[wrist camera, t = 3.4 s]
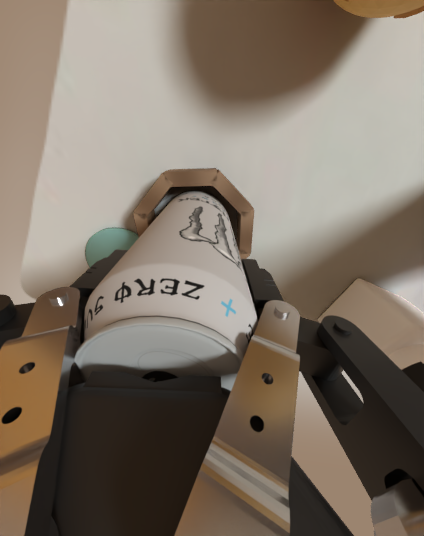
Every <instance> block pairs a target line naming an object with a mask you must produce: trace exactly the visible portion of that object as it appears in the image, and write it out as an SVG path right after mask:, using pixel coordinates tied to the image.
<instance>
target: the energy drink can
mask: <svg viewBox="0 0 424 536" xmlns="http://www.w3.org/2000/svg"><path fill="white" fill-rule="evenodd" d="M257 325H258V320H257V315H256V311H255V308H254V304H253V301H252V297H251V294H250V290H249V286H248V283H247V279H246V276H245V272H244V269H243V265H242V262H241V258H240V255H239V251H238V248H237V244H236V240H235V237H234V233H233V230H232V226H231V223H230V219H229V216H228V213H227V211H226V209H225V207H224V206H223V204H222V203H221V202H220V201H219V200H218V199H217V198H215V197H214V196H212V195H211V194H208V193H206V192H201V191H188V192H184V193H182V194H180V195H178V196H176V197H175V198H174V199H173V200H171V202H170V203H169V204H168V205H167V206H166V207H165V208H164V210H163V211H162V212H161V213H160V214H159V215H158V217H157V218H156V219H155V220H154V221H153V222H152V223H151V225H150V226H149V227H148V228H147V229H146V230H145V231H144V233H143V234H142V235H141V236H140V237H139V238H138V240H137V241H136V242H135V243H134V244H133V245H132V246H131V248H130V249H129V250H128V251H127V252H126V253H125V255H124V256H123V257H122V258H121V259H120V260H119V261H118V263H117V264H116V265H115V266H114V267H113V268H112V270H111V271H110V272H109V273H108V274H107V275H106V276H105V278H104V279H103V280H102V281H101V282H100V283H99V285H98V286H97V287H96V288H95V290H94V291H93V292H92V294H91V295H90V297H89V299H88V302H87V305H86V307H85V315H84V342H83V343H82V345H81V346H80V347H79V348H78V350H77V352H76V355H75V357H74V360H75V362H76V363H77V364H78V365H79V367H80V368H81V370H82V373H83V375H84V377H85V380H86V381H87V379H88V377H89V375H90V374H91V372H92V371H107V372H125V373H128V374H131V375H134V376H137V377H140V378H143V379H146V380H149V381H152V382H160V381H165V380H170V379H174V378H179V377H184V376H189V375H196V376H218V377H221V387H223V388H226V389H228V390H230V391H231V390H232V387H233V385H234V382H235V379H236V377H237V374H238V372H239V369H240V366H241V364H242V361H243V358H244V356H245V353H246V351H247V348H248V345H249V343H250V340H251V338H252V335H254V333H255V330H256V327H257Z"/></svg>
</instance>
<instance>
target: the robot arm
mask: <svg viewBox="0 0 424 536" xmlns="http://www.w3.org/2000/svg"><path fill="white" fill-rule="evenodd" d="M127 251H128V250H119V249H116V250H114V251H113V252H112V253H111V254H110V255H109V256H108V257H107V258H106V257H105V258H103V259H101V260H99V261H97V262H96V263H94V264H93V265H92V266H91V267H90V268H89V269H88V270H87V271H86V273H84V274H83V275H82V276H81V277H80V278H78V279H77V280H76V281H75V282H74V283H73V284H72V285H71V286H70V287H62V288H57V289H54V290H51V291H48V292H46V293H44V294H43V295H41V296H40V297H39V298H38V299H37V300H36V302H35V303H28V304H21V305H14V304H13V302H12V300H11V299H10V297H9V296H7V295H0V536H354V535H353V534H352V533H351V531H350V530H349V529H348V528H347V526H346V525H345V524H344V522H343V521H342V520H341V519H340V517H339V516H338V515H337V513H336V512H335V511H334V510H333V508H332V507H331V506H330V505H329V503H328V502H327V501H326V499H325V498H324V497H323V496H322V494H321V493H320V492H319V491H318V489H317V488H316V487H315V485H314V484H313V483H312V482H311V480H310V479H309V478H308V477H307V475H306V474H305V473H304V471H303V470H302V469H301V468H300V467H299V465H298V464H297V462H296V461H295V460H294V459H293V458H292V456H291V454H292V443H293V432H294V421H295V409H296V398H297V387H298V376H299V371H301V373H302V375H303V376H304V378H305V380H306V382H307V384H308V385H309V387H310V389H311V391H312V393H313V395H314V397H315V398H316V400H317V402H318V404H319V406H320V407H321V409H322V411H323V413H324V415H325V417H326V418H327V420H328V422H329V424H330V426H331V427H332V429H333V431H334V433H335V435H336V436H337V438H338V440H339V442H340V444H341V446H342V447H343V449H344V451H345V453H346V455H347V457H348V458H349V460H350V462H351V464H352V466H353V467H354V469H355V471H356V473H357V475H358V477H359V478H360V480H361V482H362V484H363V486H364V487H365V489H366V491H367V493H368V495H369V496H370V498H371V500H372V503H371V518H372V522H373V526H374V536H424V392H423V391H422V390H421V389H420V388H419V387H418V386H417V385H416V384H415V383H414V382H413V381H412V380H411V379H410V378H409V377H408V376H407V375H406V374H405V373H404V372H403V371H402V370H401V369H400V368H399V367H398V366H397V365H396V364H395V363H394V362H393V361H392V360H391V359H390V358H389V357H388V356H387V355H386V354H385V353H384V352H383V351H382V350H381V349H379V348H378V347H377V346H376V345H375V344H374V343H373V342H372V341H371V340H370V339H369V338H368V337H367V336H366V335H365V334H364V333H363V332H362V331H361V330H360V329H359V328H358V327H357V326H356V325H355V324H353V323H352V322H350V321H348V320H347V319H344V318H342V317H339V316H334V315H329V316H325V317H324V318H323V319H322V321H321V323H318V322H315V321H312V320H308V319H305V318H302V317H300V314H299V312H298V311H297V309H296V308H295V307H293V306H292V305H290V304H289V303H286V302H284V300H283V298H282V296H281V294H280V292H279V290H278V288H277V286H276V284H275V282H274V281H273V278H272V276H271V274H270V273H269V272H267V271H266V270H265V269H259V266H258V264H257V262H256V260H253V259H242V260H241V262H242V265H243V269H244V272H245V276H246V279H247V283H248V286H249V290H250V294H251V297H252V301H253V304H254V308H255V311H256V315H257V320H258V325H257V327H256V330H255V333H254V335H252V338H251V340H250V343H249V345H248V348H247V351H246V353H245V356H244V358H243V361H242V364H241V366H240V369H239V372H238V374H237V377H236V379H235V382H234V385H233V387H232V390H231V391H230V390H228V389H226V388H223V387H221V377H218V376H196V375H189V376H184V377H179V378H174V379H170V380H165V381H160V382H152V381H149V380H146V379H143V378H140V377H137V376H134V375H131V374H128V373H125V372H107V371H92V372H91V374H90V375H89V377H88V379H87V381H86V380H85V377H84V375H83V373H82V370H81V368H80V367H79V365H78V364H77V363H76V362H75V360H74V357H75V355H76V352H77V350H78V348H79V347H80V346H81V345H82V343H83V342H84V315H85V307H86V305H87V302H88V299H89V297H90V295H91V294H92V292H93V291H94V290H95V288H96V287H97V286H98V285H99V283H100V282H101V281H102V280H103V279H104V278H105V276H106V275H107V274H108V273H109V272H110V271H111V270H112V268H113V267H114V266H115V265H116V264H117V263H118V261H119V260H120V259H121V258H122V257H123V256H124V255H125V253H126V252H127ZM343 370H344V371H345V372H346V374H347V375H348V376H349V377H350V379H351V380H352V382H353V383H354V384H355V386H356V387H357V388H358V390H359V391H360V393H361V395H362V397H363V401H364V404H363V402H362V401H361V400H360V398H359V397H358V395H357V394H356V393H355V392H354V390H353V389H352V387H351V386H350V384H349V383H348V382H347V380H346V379H345V378H344V376H343V375H342V373H341V372H342V371H343Z"/></svg>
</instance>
